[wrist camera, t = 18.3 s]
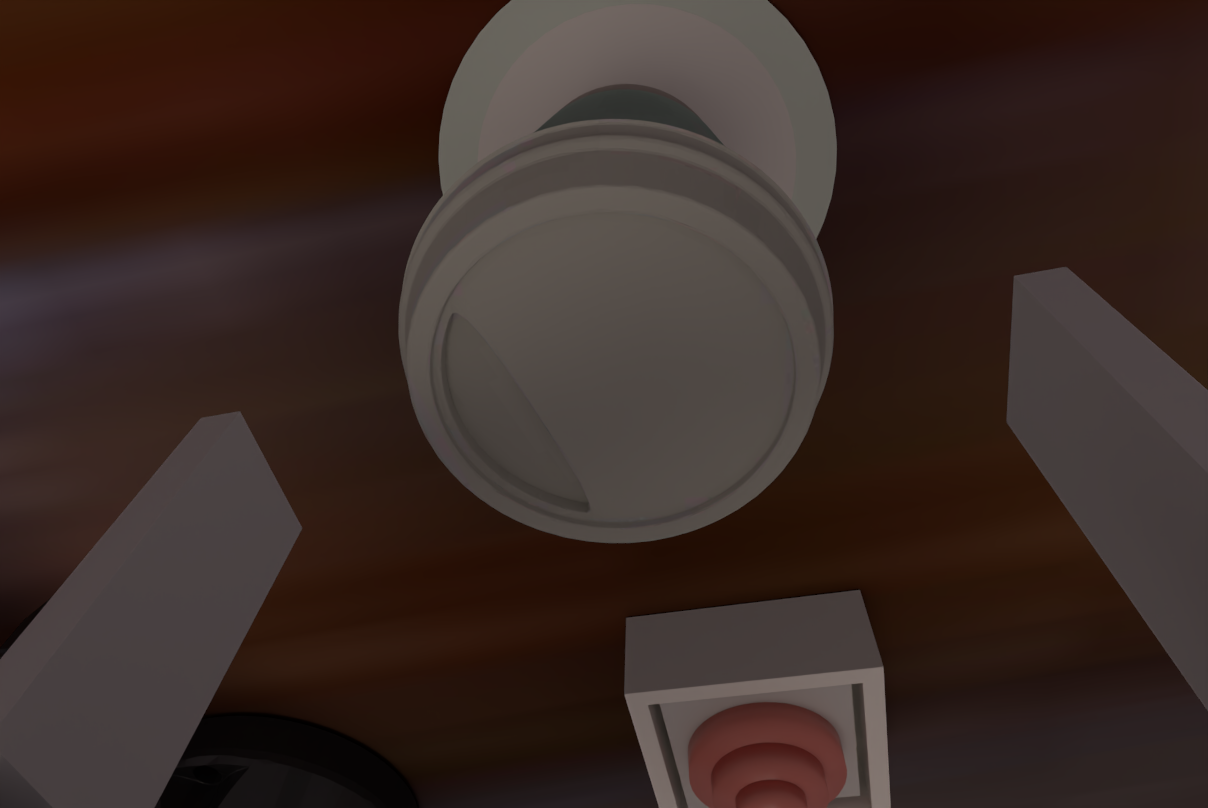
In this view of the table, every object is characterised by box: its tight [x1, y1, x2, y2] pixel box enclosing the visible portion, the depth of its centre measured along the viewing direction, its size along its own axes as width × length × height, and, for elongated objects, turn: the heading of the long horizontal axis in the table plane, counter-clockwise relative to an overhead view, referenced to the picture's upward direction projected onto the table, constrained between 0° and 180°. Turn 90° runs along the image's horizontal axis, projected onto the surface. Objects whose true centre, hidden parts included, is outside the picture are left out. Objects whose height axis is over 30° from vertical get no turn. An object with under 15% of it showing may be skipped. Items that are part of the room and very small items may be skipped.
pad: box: [439, 0, 837, 238], centre depth 25 cm, size 12×12×1 cm
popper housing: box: [624, 590, 891, 808], centre depth 36 cm, size 10×10×4 cm
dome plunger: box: [660, 684, 860, 808], centre depth 34 cm, size 8×8×5 cm
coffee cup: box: [399, 84, 834, 543], centre depth 20 cm, size 8×8×12 cm
